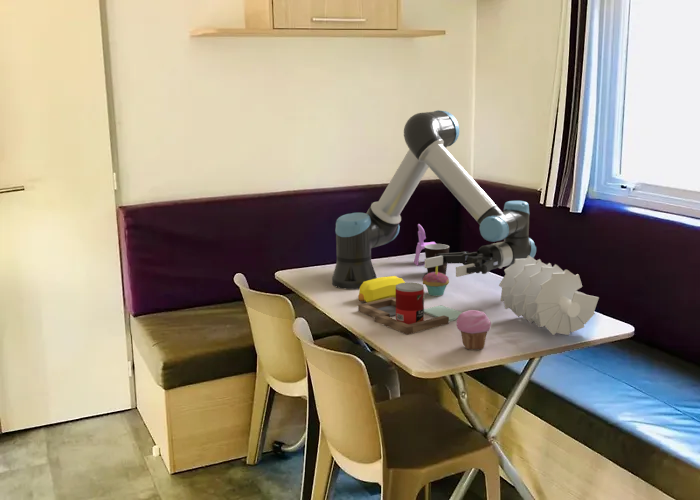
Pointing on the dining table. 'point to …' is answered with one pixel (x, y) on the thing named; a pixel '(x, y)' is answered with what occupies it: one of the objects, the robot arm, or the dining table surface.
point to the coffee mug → (432, 251)
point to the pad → (443, 312)
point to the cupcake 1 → (435, 282)
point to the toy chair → (421, 243)
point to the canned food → (409, 302)
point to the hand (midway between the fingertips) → (440, 267)
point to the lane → (387, 309)
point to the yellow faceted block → (379, 288)
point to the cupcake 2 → (473, 328)
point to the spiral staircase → (546, 296)
